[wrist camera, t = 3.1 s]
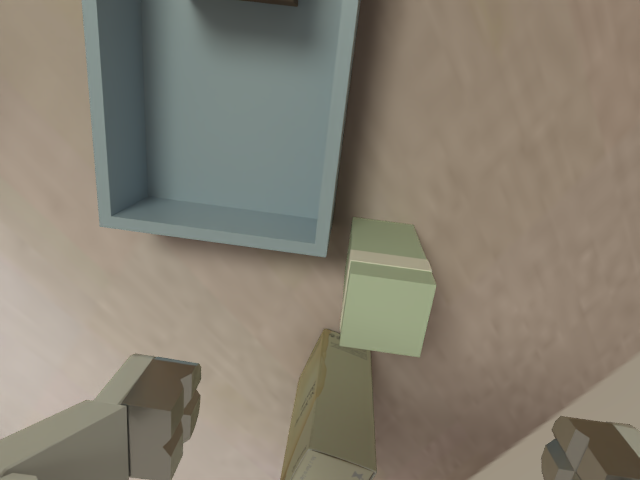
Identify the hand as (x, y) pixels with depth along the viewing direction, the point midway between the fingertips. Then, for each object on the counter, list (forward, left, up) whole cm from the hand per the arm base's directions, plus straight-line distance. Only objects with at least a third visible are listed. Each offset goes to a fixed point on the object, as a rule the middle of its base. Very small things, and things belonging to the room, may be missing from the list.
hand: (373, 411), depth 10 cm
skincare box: (0, +16, -23) cm, 27 cm away
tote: (+9, -8, -22) cm, 26 cm away
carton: (-2, +5, -22) cm, 23 cm away
